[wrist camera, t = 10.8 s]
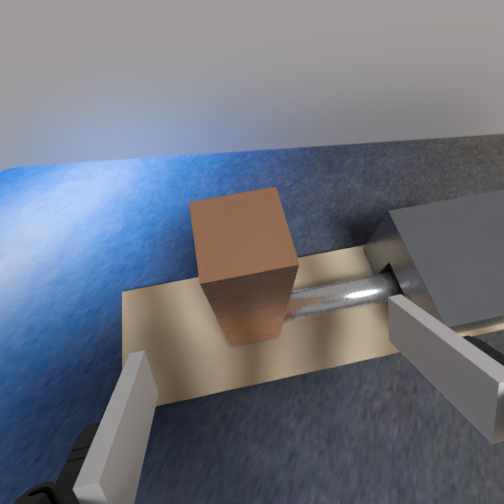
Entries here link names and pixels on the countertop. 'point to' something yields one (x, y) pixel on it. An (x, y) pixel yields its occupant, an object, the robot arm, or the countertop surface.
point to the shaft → (265, 269)
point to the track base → (256, 354)
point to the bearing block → (447, 258)
